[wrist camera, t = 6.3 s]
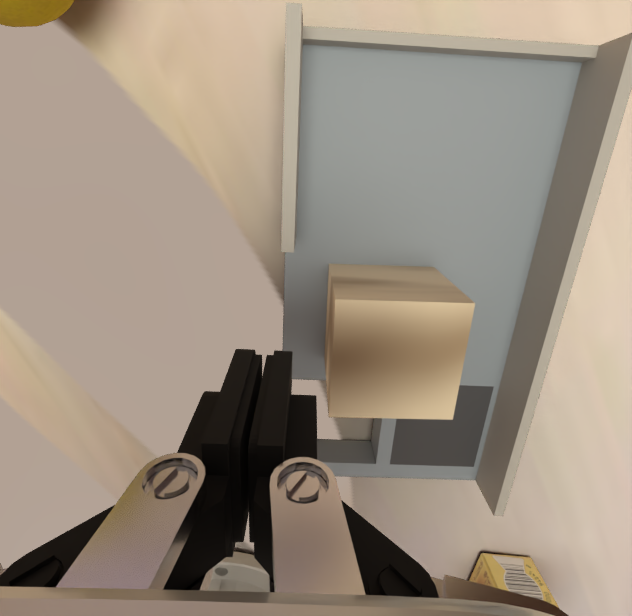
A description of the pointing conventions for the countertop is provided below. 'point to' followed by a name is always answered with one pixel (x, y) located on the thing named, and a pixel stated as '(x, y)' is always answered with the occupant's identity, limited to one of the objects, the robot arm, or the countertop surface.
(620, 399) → the countertop surface
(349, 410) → the block
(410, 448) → the pale blue tray
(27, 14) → the lemon
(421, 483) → the countertop surface
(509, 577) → the candy box
